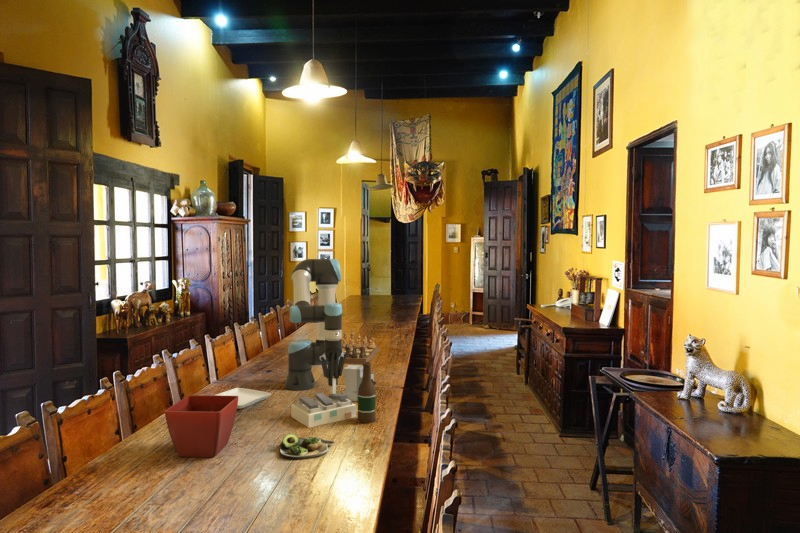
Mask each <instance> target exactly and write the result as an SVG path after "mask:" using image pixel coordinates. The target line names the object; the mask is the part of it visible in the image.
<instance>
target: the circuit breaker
mask: <svg viewBox="0 0 800 533" xmlns="http://www.w3.org/2000/svg"><path fill="white" fill-rule="evenodd" d="M342 377H343V378H344V389H343V390H342V391H343V392H342V394H344V395H347V399H348V400H351V401H352V402H358V388H359V386H360V384H361V382H362V378H363V364H347V365H346V366H344V367H343V371H342ZM371 380H372V383H373V384H374V386H375V385H376V384H377V381H375V379H374V373H371Z"/></svg>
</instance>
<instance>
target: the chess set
mask: <svg viewBox="0 0 800 533" xmlns="http://www.w3.org/2000/svg"><path fill="white" fill-rule="evenodd" d="M347 335H348V333H347V332H346V331H344V332H343V333H342V338H341V340H342V347H341V349H342V352H343V353H345V354H347V356H346V358H345V361H344V364H345V365H346V364H347V365H363V363H364V362H370V361H371V360H372V359H373V357H375V355H376V354H378V352H379V350H380V349H379V348H380V347H379V346H380V345H376V343H375V339H376V338H375V337H373V336H372V337H370V339H369V340H368V338H367V336H366V335H365V336H364V339H362V340H361V338H362V337H361V334H358V335H357V336H356V339H355V332H354V329H351V330H350V333H349V335H350V336H349V339H348V341H347V338H348V336H347ZM354 339H355V340H354ZM361 341H362V342H361Z"/></svg>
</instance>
